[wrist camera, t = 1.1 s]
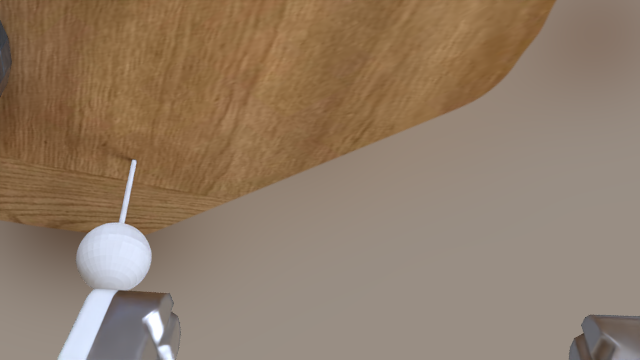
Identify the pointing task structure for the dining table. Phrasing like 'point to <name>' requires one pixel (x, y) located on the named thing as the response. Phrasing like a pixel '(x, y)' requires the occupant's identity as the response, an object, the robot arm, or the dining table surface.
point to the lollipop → (114, 252)
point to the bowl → (4, 59)
